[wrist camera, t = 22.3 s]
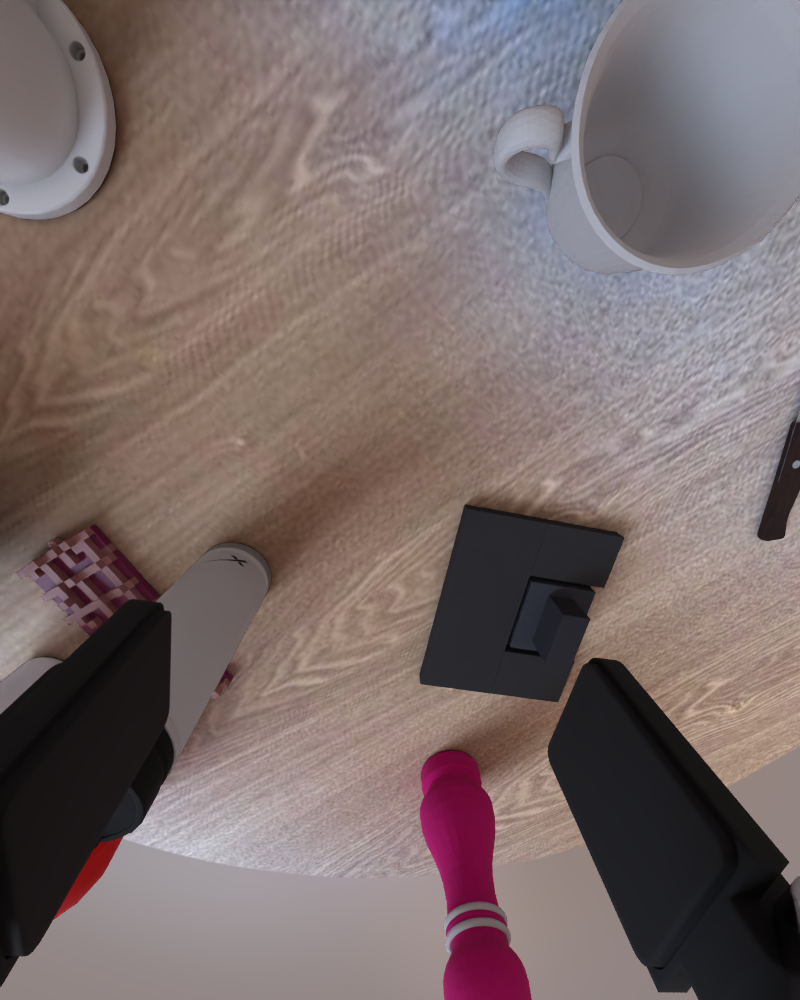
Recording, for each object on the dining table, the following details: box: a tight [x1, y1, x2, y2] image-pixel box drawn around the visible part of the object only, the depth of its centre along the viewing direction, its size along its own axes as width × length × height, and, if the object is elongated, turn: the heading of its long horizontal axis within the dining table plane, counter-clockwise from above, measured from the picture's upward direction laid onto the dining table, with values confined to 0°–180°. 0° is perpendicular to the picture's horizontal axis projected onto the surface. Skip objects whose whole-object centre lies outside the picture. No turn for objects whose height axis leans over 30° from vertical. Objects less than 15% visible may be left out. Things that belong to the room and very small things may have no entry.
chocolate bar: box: [15, 524, 233, 699], centre depth 34 cm, size 7×19×2 cm, turn 30°
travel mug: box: [95, 543, 271, 848], centre depth 24 cm, size 6×7×20 cm
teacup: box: [494, 0, 800, 275], centre depth 22 cm, size 12×15×10 cm
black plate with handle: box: [508, 576, 595, 667], centre depth 35 cm, size 7×6×4 cm
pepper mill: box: [420, 751, 532, 1000], centre depth 33 cm, size 7×7×20 cm
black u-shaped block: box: [420, 505, 624, 702], centre depth 36 cm, size 18×14×1 cm
